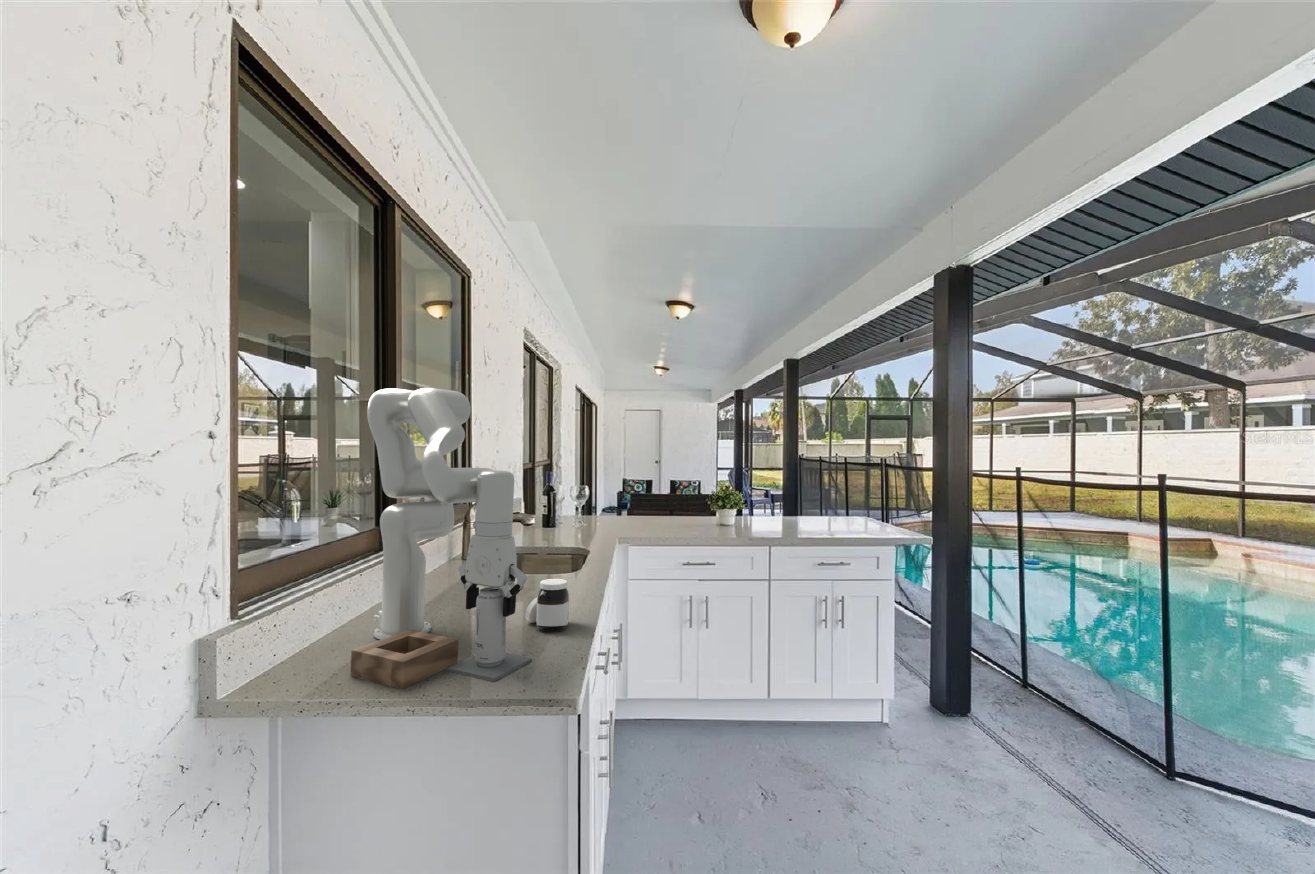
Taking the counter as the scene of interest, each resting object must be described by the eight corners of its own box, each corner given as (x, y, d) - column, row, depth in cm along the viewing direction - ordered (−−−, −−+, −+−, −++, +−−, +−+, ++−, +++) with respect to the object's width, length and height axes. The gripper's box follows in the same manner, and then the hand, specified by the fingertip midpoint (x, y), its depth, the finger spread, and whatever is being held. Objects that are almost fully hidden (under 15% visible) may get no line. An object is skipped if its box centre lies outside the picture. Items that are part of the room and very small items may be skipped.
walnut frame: (350, 675, 107) (351, 650, 107) (408, 652, 120) (409, 629, 120) (402, 689, 101) (403, 662, 102) (457, 663, 114) (458, 639, 114)
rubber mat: (447, 670, 110) (447, 667, 110) (487, 651, 121) (487, 649, 121) (494, 681, 105) (494, 678, 105) (531, 660, 116) (532, 657, 116)
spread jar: (564, 634, 134) (565, 586, 134) (518, 633, 134) (519, 585, 135) (572, 619, 146) (573, 575, 146) (530, 618, 146) (531, 575, 147)
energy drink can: (473, 659, 115) (475, 587, 116) (503, 655, 117) (504, 585, 118) (475, 669, 109) (477, 594, 110) (506, 665, 112) (508, 591, 112)
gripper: (449, 527, 114) (445, 609, 114) (515, 536, 107) (512, 623, 107) (474, 523, 121) (470, 600, 121) (538, 531, 114) (535, 613, 114)
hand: (490, 611), depth 114 cm, fingers open, 9 cm apart
